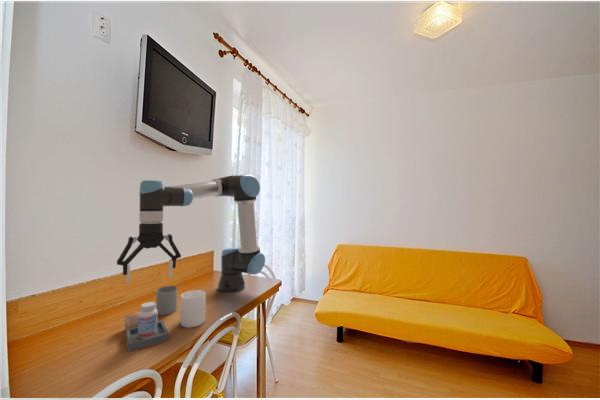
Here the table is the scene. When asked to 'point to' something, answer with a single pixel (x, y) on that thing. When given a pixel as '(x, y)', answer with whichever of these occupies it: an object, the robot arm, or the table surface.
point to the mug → (192, 308)
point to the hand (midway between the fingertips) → (150, 280)
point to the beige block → (131, 320)
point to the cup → (166, 300)
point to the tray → (139, 343)
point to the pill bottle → (147, 320)
